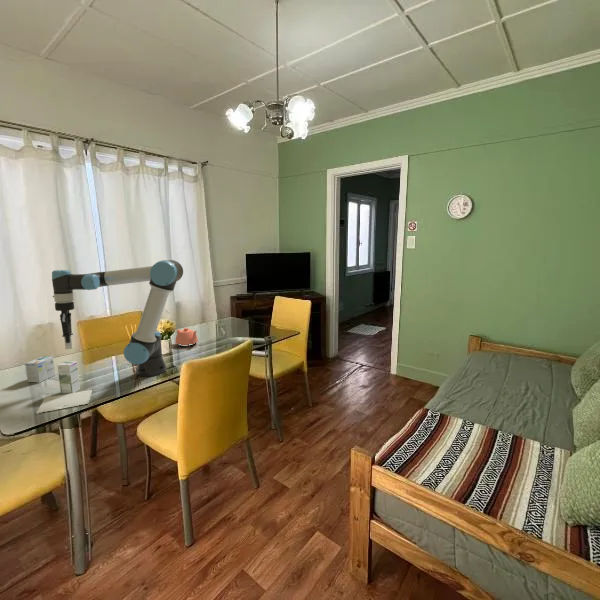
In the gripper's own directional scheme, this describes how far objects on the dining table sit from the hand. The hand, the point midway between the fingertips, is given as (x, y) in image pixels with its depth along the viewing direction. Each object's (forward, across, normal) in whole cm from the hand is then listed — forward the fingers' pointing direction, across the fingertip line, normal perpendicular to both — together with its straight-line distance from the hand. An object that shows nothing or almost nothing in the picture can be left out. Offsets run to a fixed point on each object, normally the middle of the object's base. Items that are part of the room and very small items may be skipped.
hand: (69, 348), depth 160 cm
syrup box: (+19, +10, 0) cm, 21 cm away
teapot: (+19, -45, +62) cm, 79 cm away
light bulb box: (+19, -16, -16) cm, 29 cm away
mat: (+19, +22, 0) cm, 29 cm away
